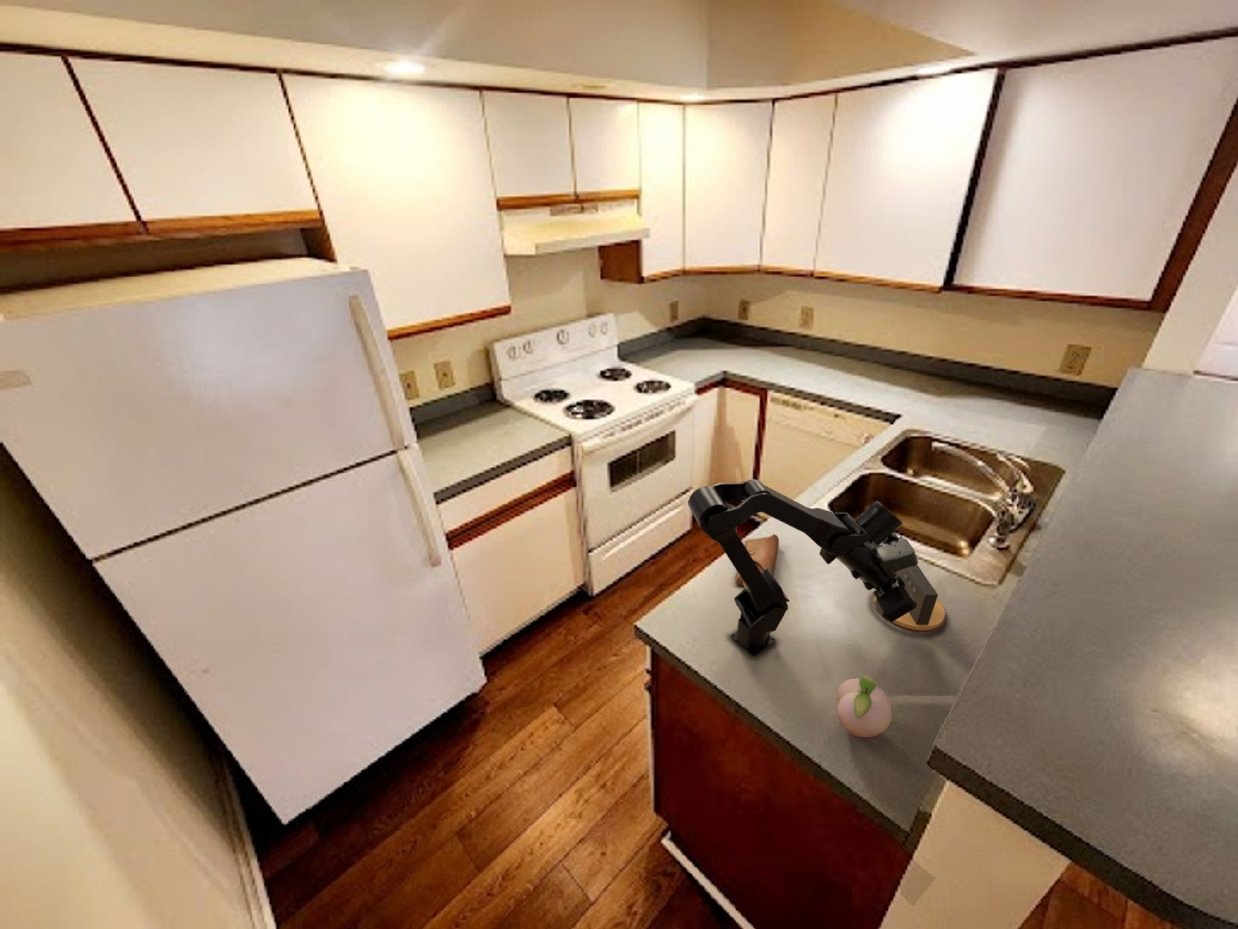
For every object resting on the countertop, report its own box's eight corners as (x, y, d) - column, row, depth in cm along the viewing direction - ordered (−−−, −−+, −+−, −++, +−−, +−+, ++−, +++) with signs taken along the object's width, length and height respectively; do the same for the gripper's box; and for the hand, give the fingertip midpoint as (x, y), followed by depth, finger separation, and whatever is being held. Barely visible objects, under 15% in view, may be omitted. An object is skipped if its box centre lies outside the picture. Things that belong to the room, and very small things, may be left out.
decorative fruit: (885, 760, 85) (899, 720, 81) (831, 743, 88) (841, 704, 83) (883, 711, 93) (895, 672, 88) (834, 697, 96) (842, 659, 91)
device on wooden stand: (888, 630, 107) (898, 597, 103) (865, 585, 119) (872, 554, 115) (956, 630, 107) (968, 597, 102) (925, 585, 118) (935, 553, 114)
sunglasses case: (744, 538, 137) (759, 522, 133) (767, 553, 137) (783, 537, 133) (733, 584, 122) (750, 567, 118) (759, 601, 122) (777, 585, 118)
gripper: (917, 565, 91) (966, 612, 95) (875, 505, 107) (919, 547, 112) (861, 600, 95) (911, 644, 100) (829, 537, 111) (874, 577, 116)
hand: (904, 599), depth 107 cm, fingers closed
